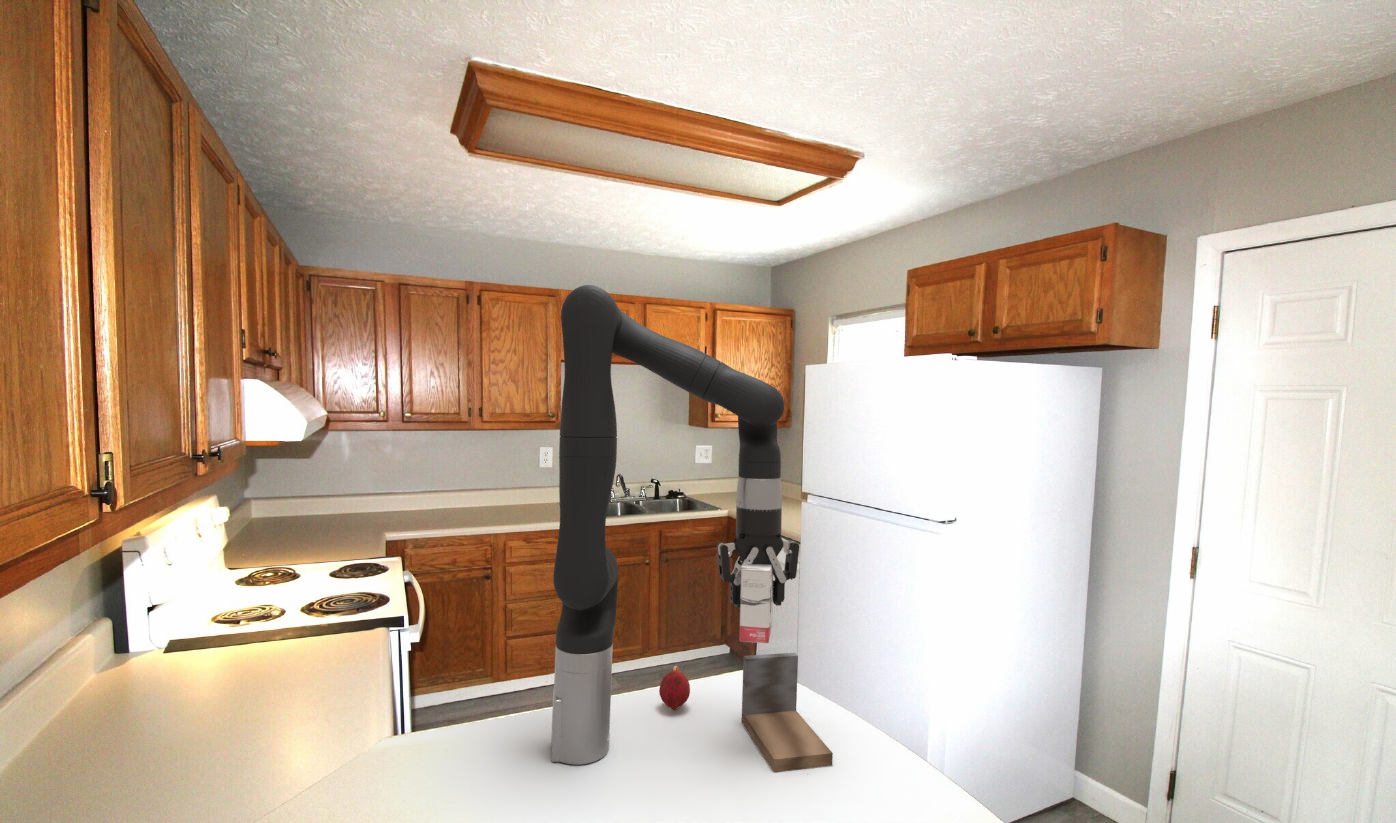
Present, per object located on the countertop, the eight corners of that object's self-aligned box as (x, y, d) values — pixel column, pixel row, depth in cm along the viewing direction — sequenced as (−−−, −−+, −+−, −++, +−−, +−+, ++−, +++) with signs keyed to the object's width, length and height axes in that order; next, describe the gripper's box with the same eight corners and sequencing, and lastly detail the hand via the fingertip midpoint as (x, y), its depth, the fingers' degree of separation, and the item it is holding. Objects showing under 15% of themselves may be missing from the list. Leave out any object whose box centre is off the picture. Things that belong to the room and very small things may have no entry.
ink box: (770, 644, 96) (770, 569, 97) (739, 642, 97) (738, 567, 98) (774, 626, 105) (773, 557, 105) (744, 625, 106) (744, 556, 106)
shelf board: (773, 772, 95) (776, 694, 95) (741, 722, 111) (743, 655, 111) (832, 765, 98) (834, 690, 98) (792, 717, 113) (794, 652, 113)
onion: (688, 717, 112) (690, 673, 112) (657, 716, 112) (659, 672, 112) (689, 703, 118) (691, 661, 118) (659, 701, 118) (661, 660, 118)
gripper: (723, 508, 96) (722, 615, 96) (808, 507, 100) (807, 609, 99) (711, 502, 104) (709, 601, 103) (790, 501, 107) (789, 596, 107)
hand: (757, 605), depth 101 cm, fingers closed on ink box, 6 cm apart
